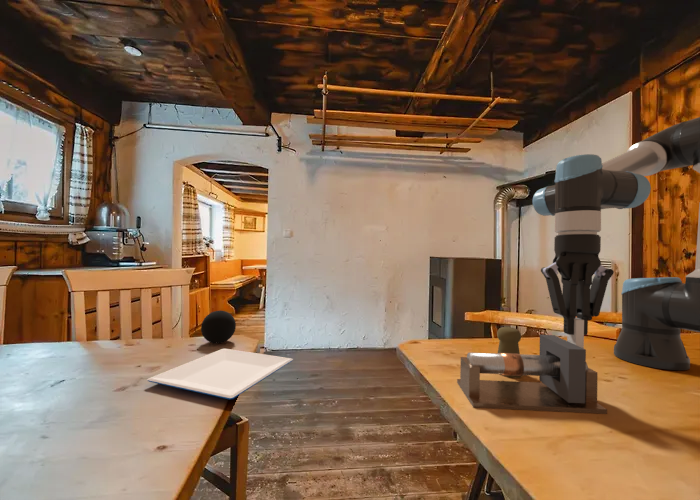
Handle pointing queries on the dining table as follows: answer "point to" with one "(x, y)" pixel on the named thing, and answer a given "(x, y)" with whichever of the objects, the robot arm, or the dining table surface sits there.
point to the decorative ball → (218, 327)
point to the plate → (222, 372)
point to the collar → (565, 368)
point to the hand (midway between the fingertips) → (575, 350)
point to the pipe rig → (521, 383)
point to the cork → (509, 342)
